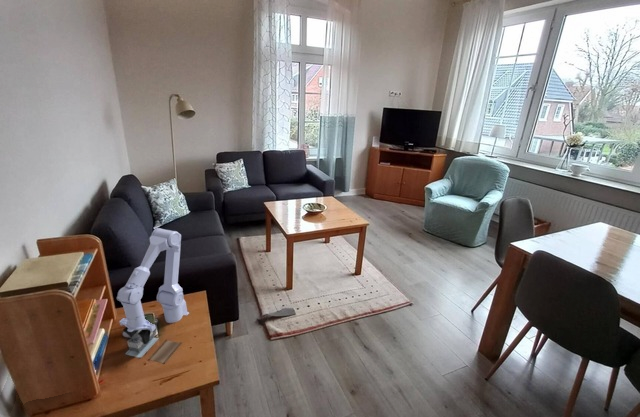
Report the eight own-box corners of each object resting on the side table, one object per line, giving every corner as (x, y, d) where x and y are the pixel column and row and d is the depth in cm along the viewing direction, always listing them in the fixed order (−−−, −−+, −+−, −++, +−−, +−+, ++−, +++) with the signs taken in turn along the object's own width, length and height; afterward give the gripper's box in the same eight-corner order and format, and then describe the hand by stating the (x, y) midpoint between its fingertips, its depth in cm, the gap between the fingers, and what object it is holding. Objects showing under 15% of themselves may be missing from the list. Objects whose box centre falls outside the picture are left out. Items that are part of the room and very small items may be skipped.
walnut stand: (149, 362, 118) (148, 358, 117) (166, 342, 127) (166, 339, 126) (165, 366, 116) (164, 362, 116) (181, 346, 126) (181, 342, 125)
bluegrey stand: (126, 357, 120) (125, 353, 119) (144, 338, 129) (144, 334, 128) (141, 360, 118) (140, 357, 118) (159, 341, 128) (158, 337, 127)
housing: (144, 335, 127) (142, 326, 125) (153, 337, 126) (151, 327, 124) (129, 350, 119) (127, 340, 117) (139, 352, 119) (136, 343, 117)
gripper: (109, 318, 115) (118, 345, 120) (143, 324, 112) (150, 352, 117) (124, 305, 121) (131, 331, 126) (156, 311, 118) (162, 338, 124)
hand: (141, 340), depth 122 cm, fingers closed on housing, 4 cm apart
